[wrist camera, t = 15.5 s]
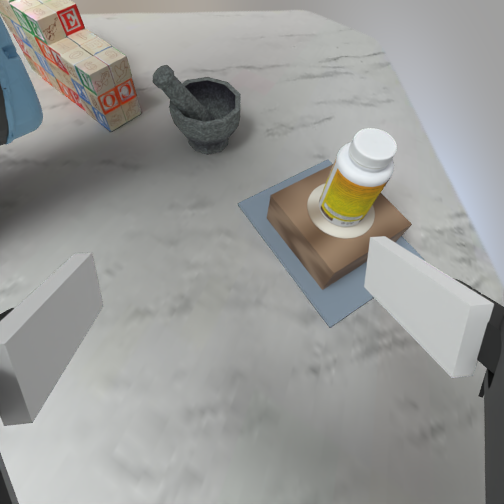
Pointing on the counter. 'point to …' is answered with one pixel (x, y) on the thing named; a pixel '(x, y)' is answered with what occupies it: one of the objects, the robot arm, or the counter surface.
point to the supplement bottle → (358, 177)
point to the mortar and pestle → (201, 109)
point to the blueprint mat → (325, 301)
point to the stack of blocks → (73, 58)
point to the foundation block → (329, 229)
